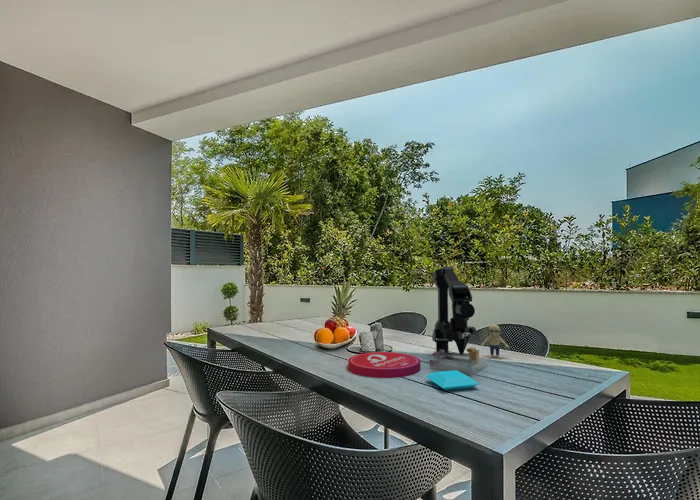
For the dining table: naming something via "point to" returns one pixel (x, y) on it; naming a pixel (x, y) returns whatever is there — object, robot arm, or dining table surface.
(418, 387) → the dining table surface
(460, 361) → the grey piece
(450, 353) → the strap
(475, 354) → the tab
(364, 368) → the sign
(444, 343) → the robot arm
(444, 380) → the prism
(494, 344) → the toy
